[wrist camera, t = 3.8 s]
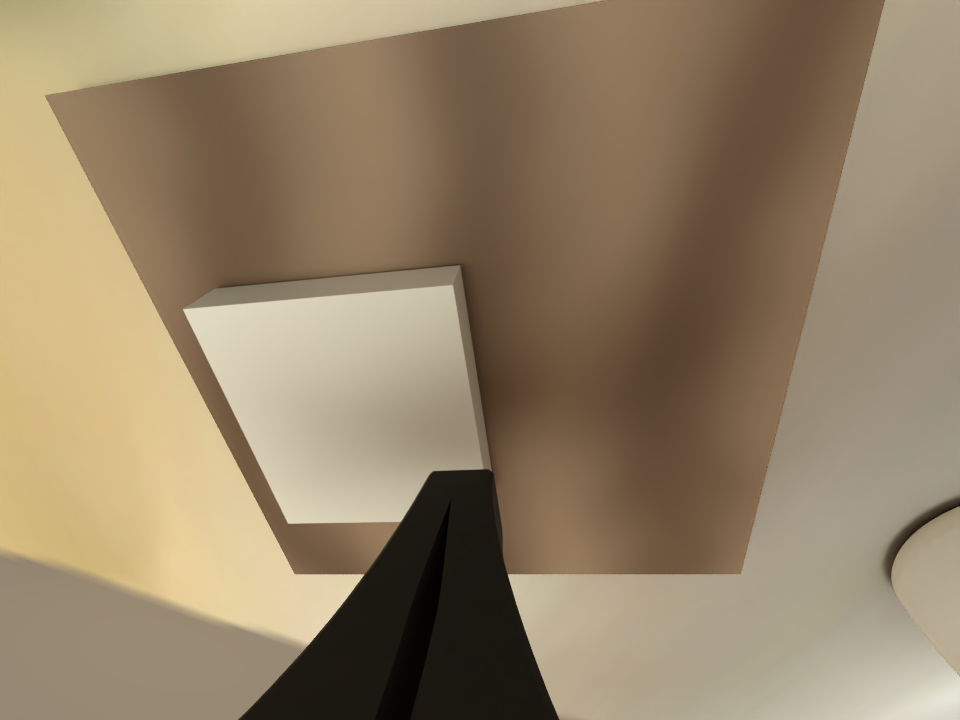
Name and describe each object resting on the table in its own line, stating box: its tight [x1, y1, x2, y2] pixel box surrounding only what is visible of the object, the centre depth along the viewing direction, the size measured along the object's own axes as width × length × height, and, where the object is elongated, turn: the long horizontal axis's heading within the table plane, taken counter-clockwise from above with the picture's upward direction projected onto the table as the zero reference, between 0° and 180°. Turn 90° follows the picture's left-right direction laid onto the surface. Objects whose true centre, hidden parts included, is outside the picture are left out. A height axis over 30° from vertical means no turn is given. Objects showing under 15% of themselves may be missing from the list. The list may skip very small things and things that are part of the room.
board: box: [45, 0, 885, 574], centre depth 14 cm, size 18×18×1 cm
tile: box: [183, 265, 492, 524], centre depth 14 cm, size 2×8×7 cm
